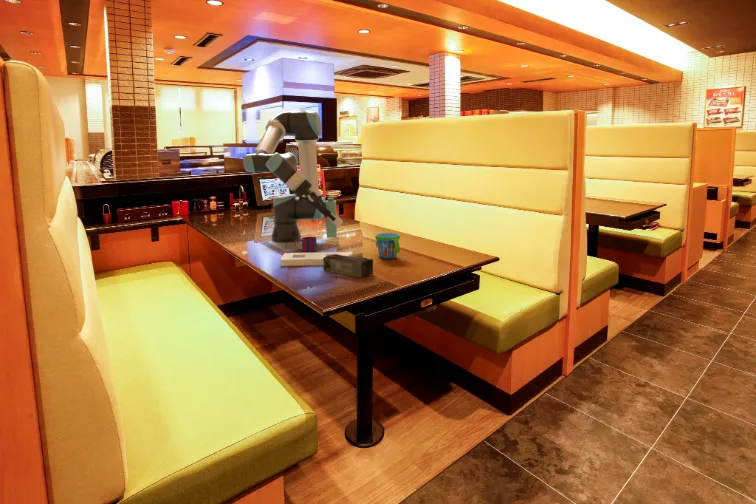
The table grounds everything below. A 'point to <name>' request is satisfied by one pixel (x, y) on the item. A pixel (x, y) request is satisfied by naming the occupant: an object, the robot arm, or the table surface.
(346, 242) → the table surface
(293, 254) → the socket panel
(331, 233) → the plug
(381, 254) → the sippy cup
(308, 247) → the cup
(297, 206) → the robot arm
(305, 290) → the table surface
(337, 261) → the beverage carton
